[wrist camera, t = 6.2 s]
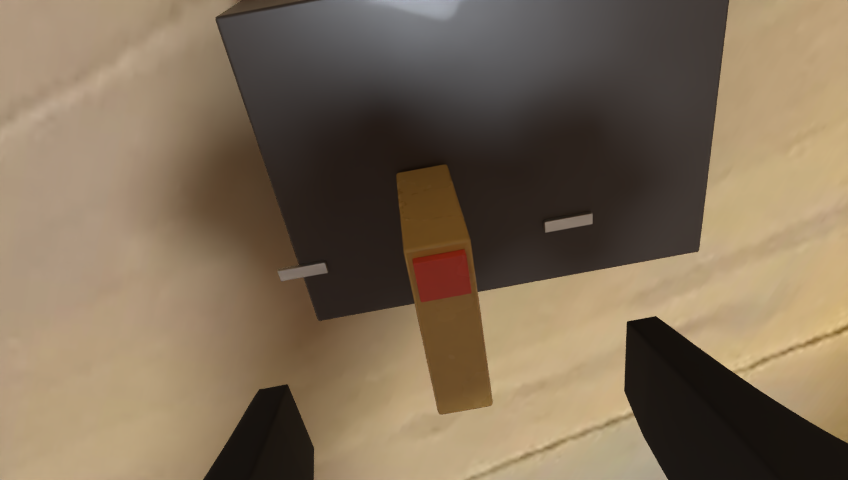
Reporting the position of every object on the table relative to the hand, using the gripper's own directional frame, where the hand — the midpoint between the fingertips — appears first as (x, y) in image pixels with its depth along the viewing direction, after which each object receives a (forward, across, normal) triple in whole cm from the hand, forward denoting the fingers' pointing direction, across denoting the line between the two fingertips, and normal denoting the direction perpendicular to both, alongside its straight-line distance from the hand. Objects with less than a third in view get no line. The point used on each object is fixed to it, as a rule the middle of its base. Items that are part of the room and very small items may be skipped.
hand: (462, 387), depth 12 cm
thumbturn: (+5, 0, 0) cm, 5 cm away
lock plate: (+8, -2, -3) cm, 9 cm away
